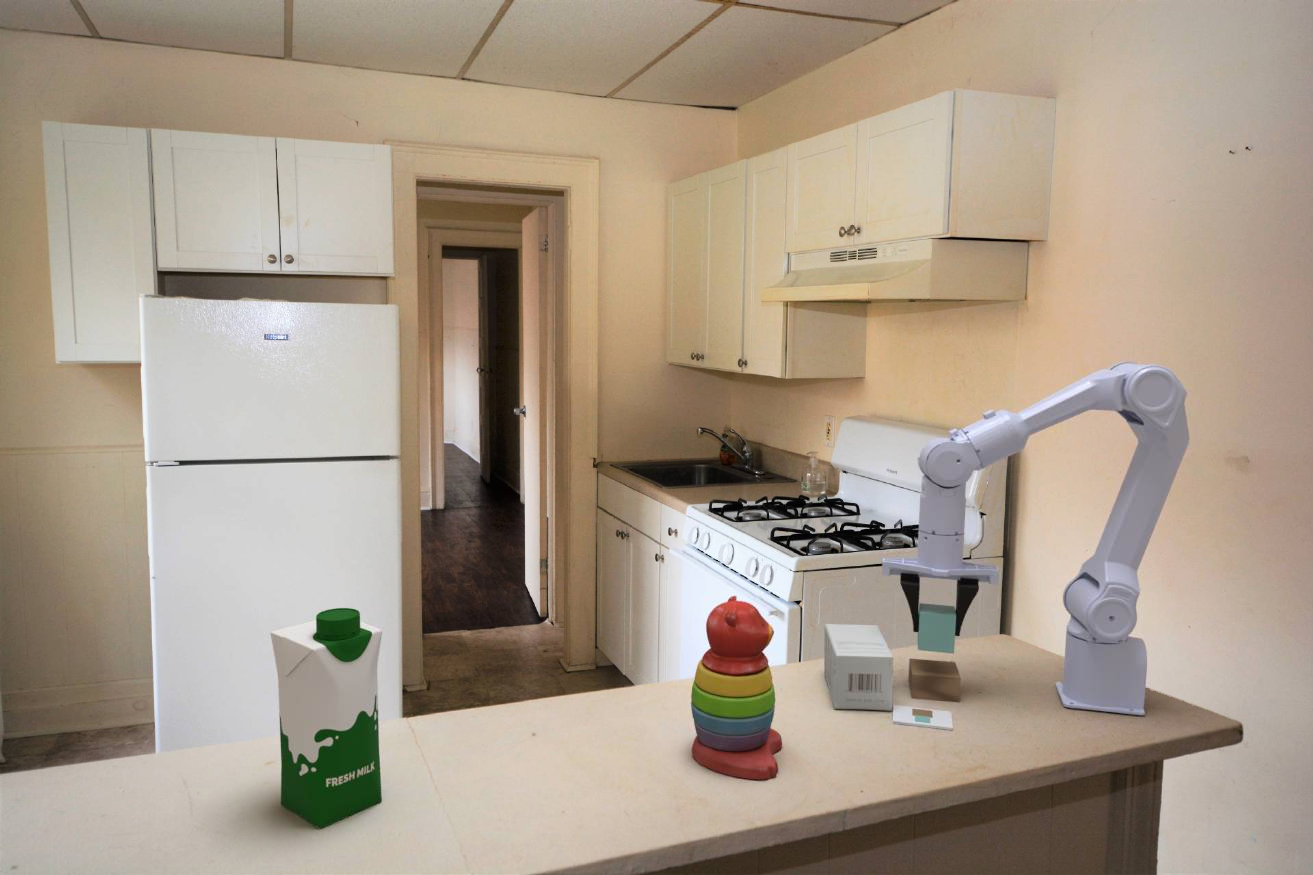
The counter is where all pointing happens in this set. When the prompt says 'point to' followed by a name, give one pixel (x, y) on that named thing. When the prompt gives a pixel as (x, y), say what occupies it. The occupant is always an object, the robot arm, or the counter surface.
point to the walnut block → (934, 680)
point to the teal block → (936, 628)
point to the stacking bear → (735, 695)
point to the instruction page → (922, 717)
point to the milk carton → (328, 716)
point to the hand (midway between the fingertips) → (936, 631)
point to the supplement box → (858, 667)
